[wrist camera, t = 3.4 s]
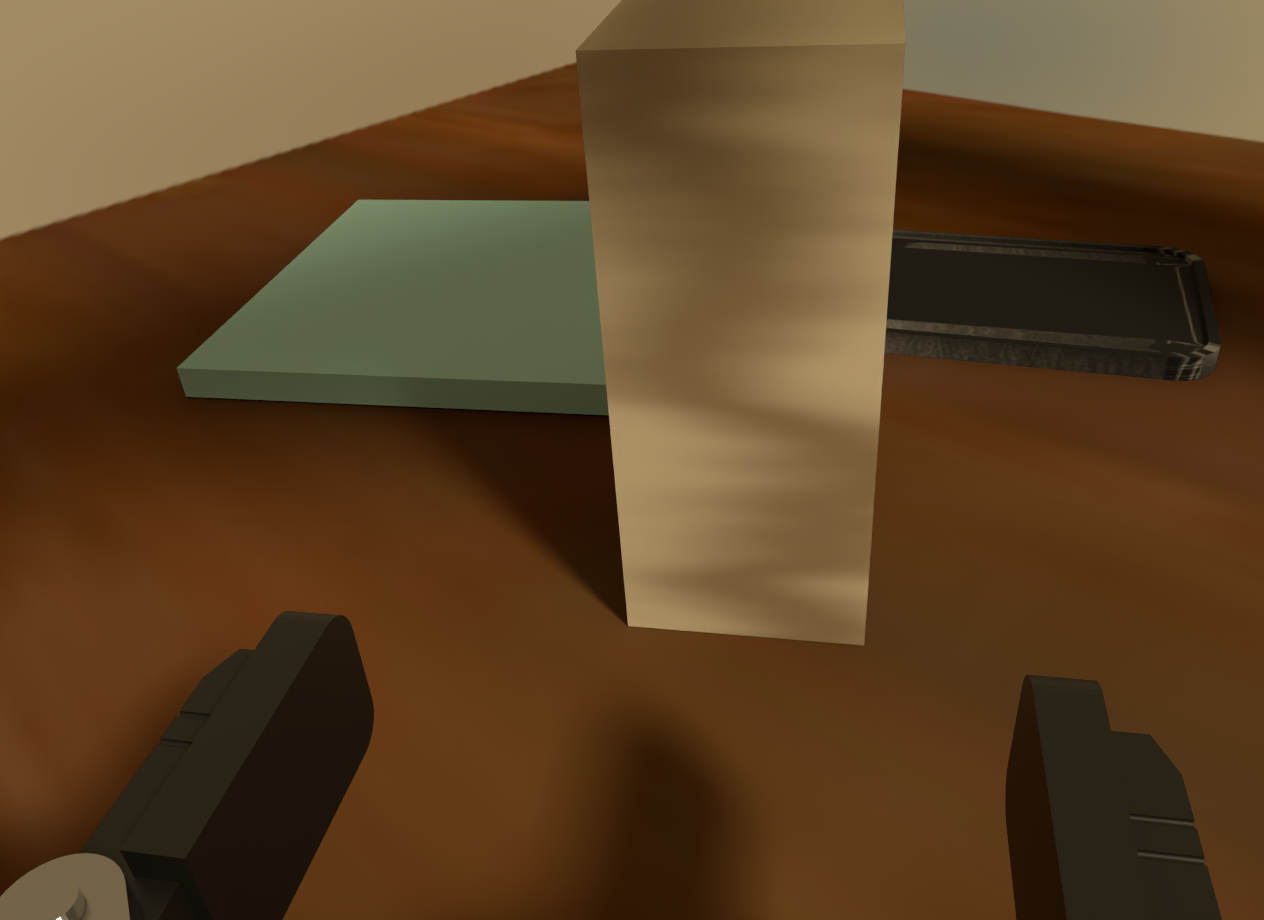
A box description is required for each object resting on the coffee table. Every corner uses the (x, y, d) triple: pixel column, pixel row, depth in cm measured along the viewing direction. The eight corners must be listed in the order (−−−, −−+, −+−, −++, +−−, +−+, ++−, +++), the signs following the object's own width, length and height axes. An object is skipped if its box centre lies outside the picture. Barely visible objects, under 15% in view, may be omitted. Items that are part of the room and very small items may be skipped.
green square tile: (702, 226, 42) (701, 201, 42) (633, 416, 31) (631, 385, 30) (363, 223, 45) (358, 199, 44) (186, 396, 34) (176, 368, 33)
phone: (1225, 361, 30) (695, 312, 34) (1215, 397, 31) (696, 344, 35) (1201, 247, 36) (754, 218, 41) (1193, 279, 37) (754, 247, 41)
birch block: (868, 503, 27) (902, -24, 20) (863, 645, 23) (905, 43, 16) (666, 492, 28) (635, -16, 21) (627, 626, 24) (575, 49, 17)
